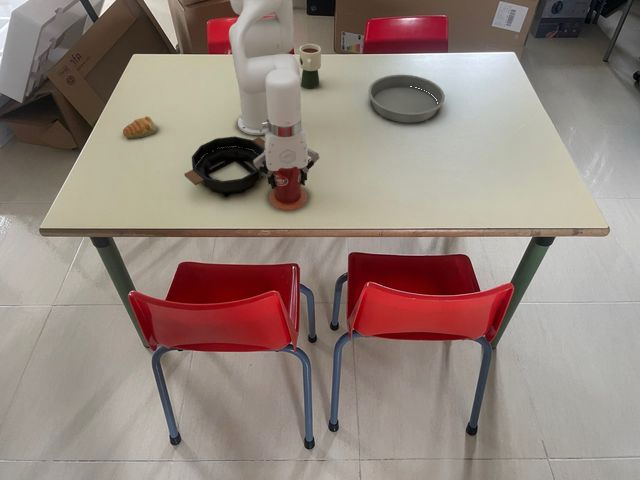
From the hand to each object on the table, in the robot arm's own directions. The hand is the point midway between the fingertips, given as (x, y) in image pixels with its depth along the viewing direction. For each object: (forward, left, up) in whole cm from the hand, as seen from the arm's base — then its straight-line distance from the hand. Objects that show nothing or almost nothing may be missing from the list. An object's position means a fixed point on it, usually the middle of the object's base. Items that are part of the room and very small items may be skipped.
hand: (287, 183), depth 121 cm
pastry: (+14, -52, -5) cm, 54 cm away
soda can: (0, 0, -5) cm, 5 cm away
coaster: (0, 0, -5) cm, 5 cm away
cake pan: (-58, -9, -5) cm, 59 cm away
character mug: (-43, -39, -5) cm, 58 cm away
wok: (+6, -17, -5) cm, 19 cm away
